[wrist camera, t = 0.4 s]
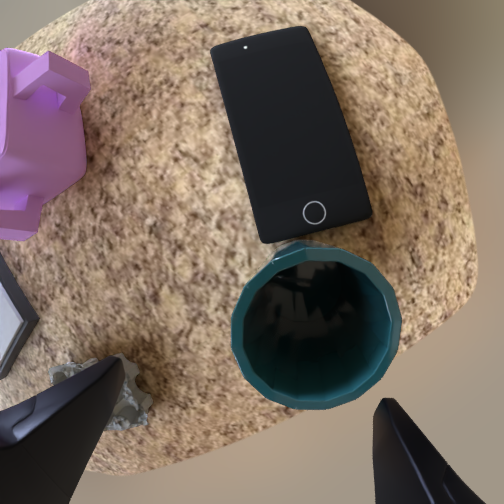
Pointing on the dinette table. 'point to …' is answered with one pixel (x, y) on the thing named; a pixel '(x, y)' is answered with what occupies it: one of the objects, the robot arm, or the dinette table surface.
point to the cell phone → (289, 135)
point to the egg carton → (130, 398)
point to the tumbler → (315, 326)
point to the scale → (13, 319)
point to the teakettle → (38, 135)
